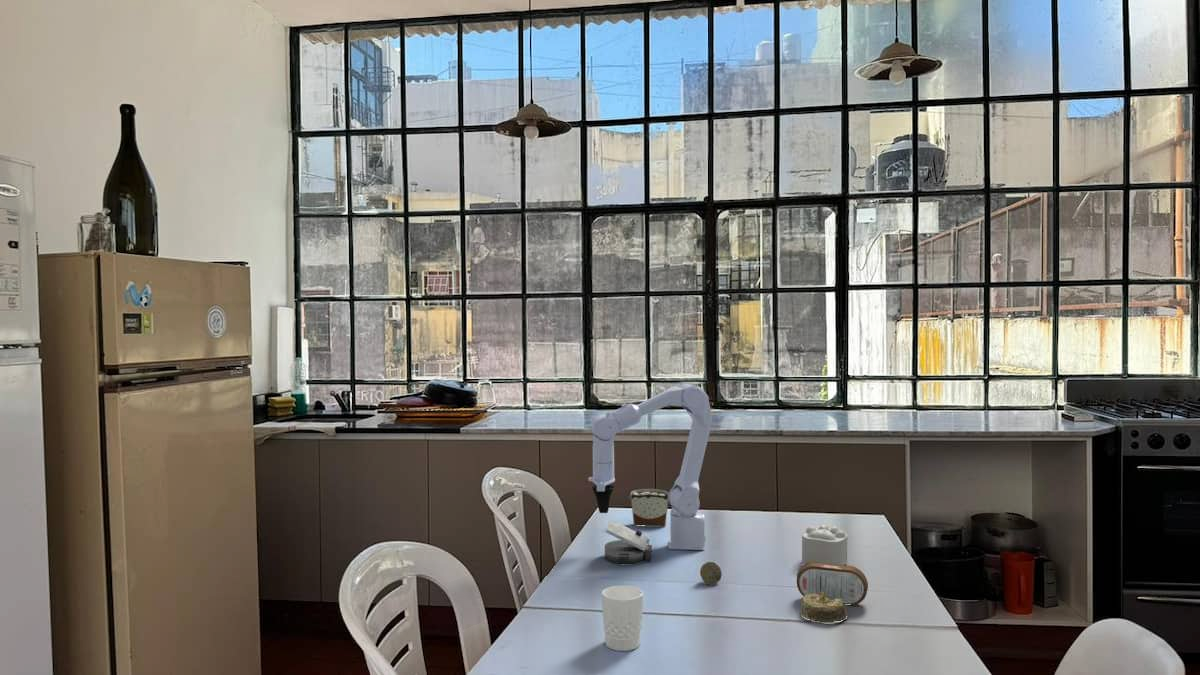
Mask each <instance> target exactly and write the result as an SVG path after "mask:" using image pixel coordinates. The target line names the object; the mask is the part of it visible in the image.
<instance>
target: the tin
mask: <svg viewBox="0 0 1200 675" xmlns="http://www.w3.org/2000/svg"><path fill="white" fill-rule="evenodd" d="M796 574H797V575H796V587H797V590H798V591H799V593H800V595H802V597H803V596H805V595H806V596H807V594H817V595H823V594H821V593H822V592H823V593H824V594H825V596H826V598H827V599H829V600H830V601H831V600H834V599H841V600H842V601H843V603H844V604H851V605H854V606H858V605H859V604H860V603H862V602H863V601H864V600H865V598H866V596H867V594H868V589H869V583H868V580H867V577H866V575H865V573H864V572H862V571H861V570H860V568H858V567H855V566H852V565H839V564H830V563H821V562H809V563H806V564H804V565H803V564H802V566H801V567H800V568H799V569H798V571H797V573H796ZM820 592H821V593H820Z"/></svg>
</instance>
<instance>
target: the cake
mask: <svg viewBox="0 0 1200 675" xmlns="http://www.w3.org/2000/svg"><path fill="white" fill-rule="evenodd" d="M820 593H821V592H820ZM821 594H823V595H817V594H807V596H806V595H805V596H803V595H802V598H801V600H800V603H801V604H800V605H801V606H800V612H799V615H800V614H801V615H802V616H803V617H805V618H807V619H810V620H813V621H819V622H834V621H841V620H844V619H845V618H846V616H847V617H848V615H847V614H848V613H847V612H846V605H844V603H843V601H842V600H841V599H834V600H831V601H830V600H829V599H827V598H826V596H825V594H824V593H823V592H822V593H821ZM802 616H801V617H802Z"/></svg>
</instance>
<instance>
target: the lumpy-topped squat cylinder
mask: <svg viewBox="0 0 1200 675" xmlns="http://www.w3.org/2000/svg"><path fill="white" fill-rule="evenodd" d="M809 562H821V563H830V564H839V565H845V564H846V563H847V564H848V534H847V533H846V532H845V531H844V530H841V529H839V527H838V526H834V525H833V526H831V527H829V526H828V525H826V524H820V525H819V527H815V526H812V525H809V526H808V527H806V529H805V531H804V533H803V534H802V535H801V564H802V563H803V564H806V563H809ZM803 564H802V565H803Z"/></svg>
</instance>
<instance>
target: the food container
mask: <svg viewBox="0 0 1200 675" xmlns="http://www.w3.org/2000/svg"><path fill="white" fill-rule="evenodd" d="M668 495H669V492H668V491H666V490H664V489H657V488H641V489H634V490H632V491H631V492H630V494H629V497H628V500H630V501H631V503H630V504H631V509H632V510H631V512H632V519H633V520H632V521H633V526H634V525H645V526H644V527H652V526H665V527H666V524H667V516H668V514H667V513H668V504H669V500H668Z"/></svg>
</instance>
